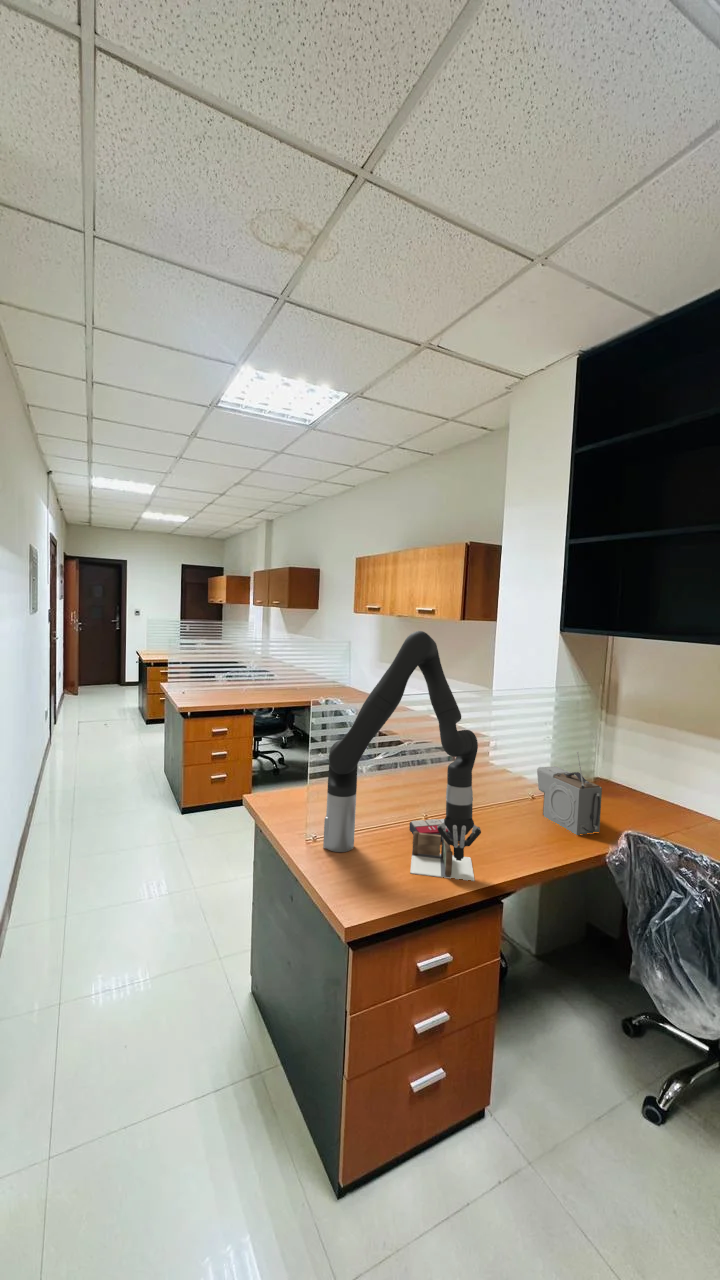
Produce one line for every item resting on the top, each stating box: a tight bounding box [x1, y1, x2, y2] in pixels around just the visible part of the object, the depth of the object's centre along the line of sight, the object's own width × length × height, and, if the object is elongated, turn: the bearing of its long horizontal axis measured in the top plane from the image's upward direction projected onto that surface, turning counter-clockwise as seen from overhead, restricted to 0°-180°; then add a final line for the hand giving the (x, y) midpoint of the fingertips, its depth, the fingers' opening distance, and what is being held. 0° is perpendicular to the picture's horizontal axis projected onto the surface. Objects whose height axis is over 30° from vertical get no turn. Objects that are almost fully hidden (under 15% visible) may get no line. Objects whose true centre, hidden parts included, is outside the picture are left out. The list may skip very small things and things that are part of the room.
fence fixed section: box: [411, 831, 449, 858], centre depth 148 cm, size 11×2×7 cm, turn 81°
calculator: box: [409, 818, 460, 843], centre depth 164 cm, size 11×4×15 cm
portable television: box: [536, 751, 603, 836], centre depth 181 cm, size 12×24×30 cm, turn 18°
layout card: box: [409, 853, 476, 882], centre depth 143 cm, size 18×14×1 cm
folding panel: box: [443, 839, 454, 876], centre depth 141 cm, size 11×2×6 cm, turn 175°
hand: (458, 859), depth 139 cm, fingers closed
